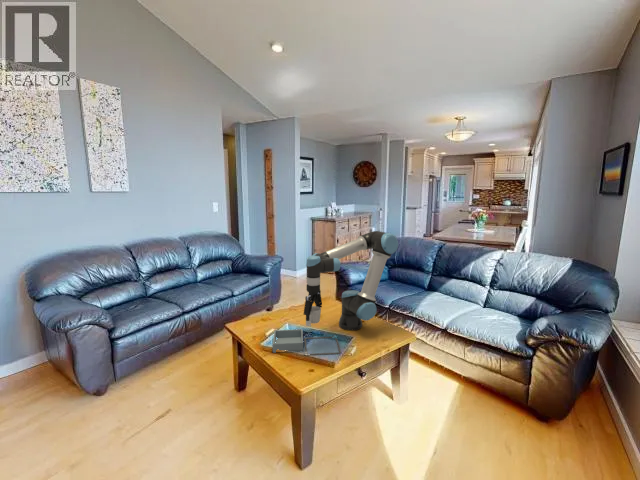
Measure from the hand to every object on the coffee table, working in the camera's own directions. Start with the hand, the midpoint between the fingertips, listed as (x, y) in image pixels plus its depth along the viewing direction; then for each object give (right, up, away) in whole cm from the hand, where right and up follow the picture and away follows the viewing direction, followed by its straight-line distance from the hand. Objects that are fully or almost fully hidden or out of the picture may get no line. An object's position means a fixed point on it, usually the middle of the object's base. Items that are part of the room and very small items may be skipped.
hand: (313, 322), depth 174 cm
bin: (-14, -14, +4) cm, 20 cm away
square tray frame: (+5, -14, +2) cm, 15 cm away
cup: (0, -1, 0) cm, 1 cm away
